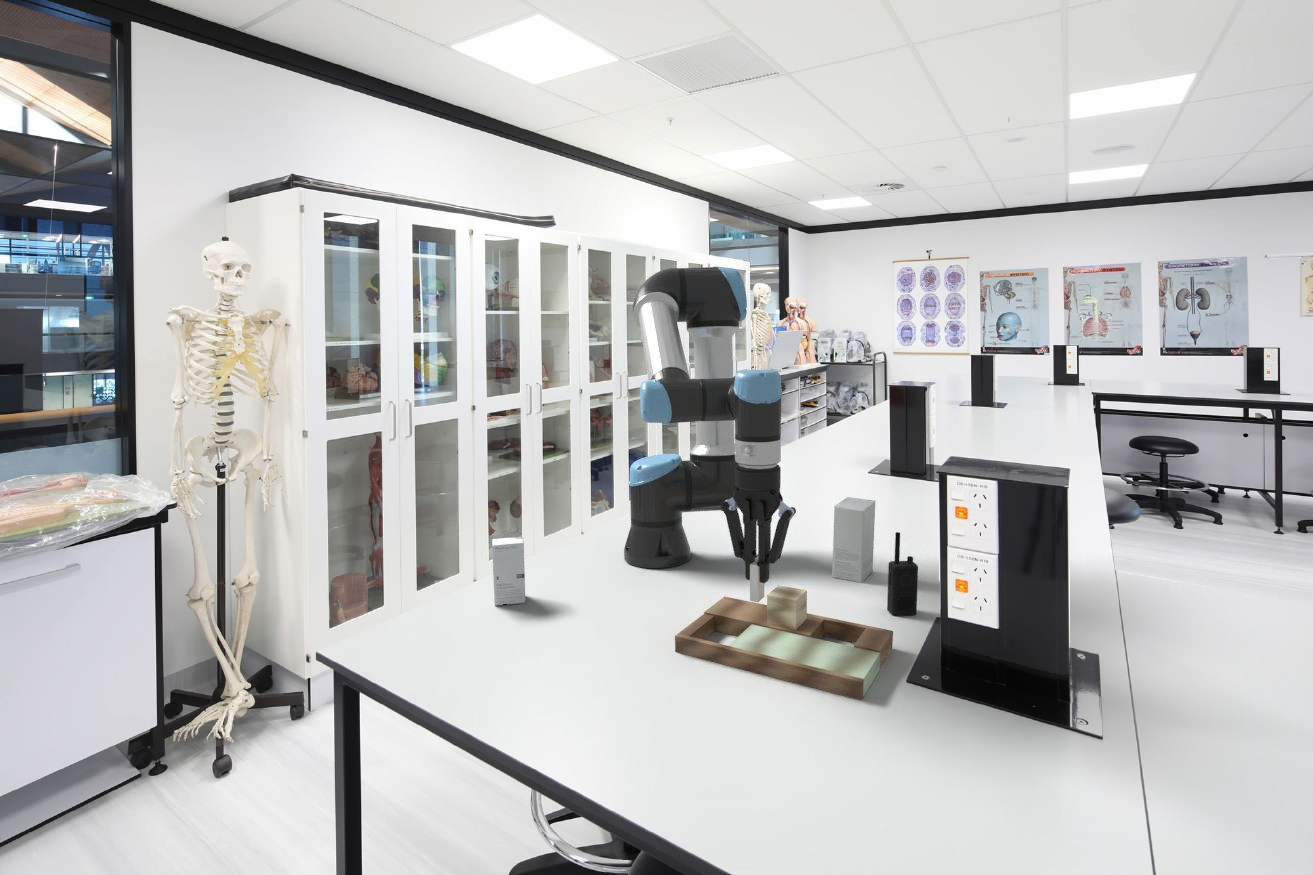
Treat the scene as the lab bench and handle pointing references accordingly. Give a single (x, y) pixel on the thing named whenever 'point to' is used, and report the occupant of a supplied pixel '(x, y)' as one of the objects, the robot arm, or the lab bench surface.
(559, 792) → the lab bench surface
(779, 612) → the block
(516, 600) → the skincare box
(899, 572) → the walkie-talkie
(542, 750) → the lab bench surface
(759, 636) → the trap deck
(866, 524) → the skincare box
